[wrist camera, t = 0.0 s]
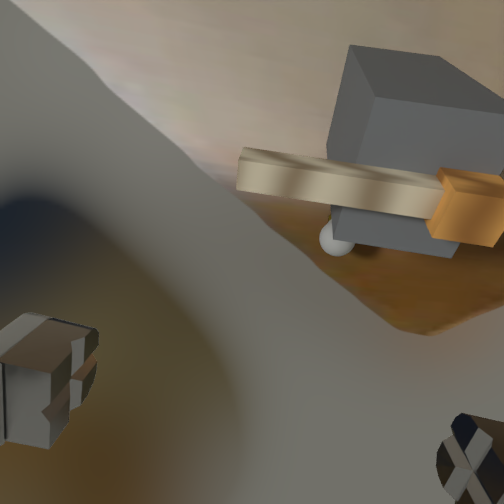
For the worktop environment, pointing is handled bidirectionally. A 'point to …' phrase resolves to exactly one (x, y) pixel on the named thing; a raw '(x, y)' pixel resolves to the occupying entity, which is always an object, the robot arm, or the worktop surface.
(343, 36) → the worktop surface
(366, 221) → the cabinet
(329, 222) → the light bulb
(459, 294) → the worktop surface
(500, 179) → the bar
